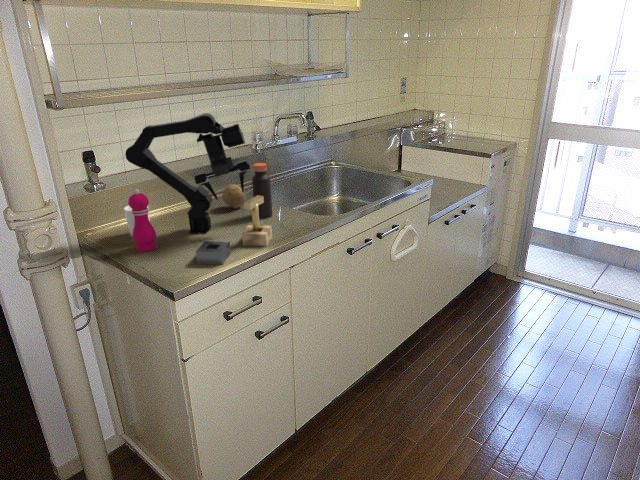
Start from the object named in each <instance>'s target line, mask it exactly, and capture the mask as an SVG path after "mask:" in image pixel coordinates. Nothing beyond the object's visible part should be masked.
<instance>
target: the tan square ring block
mask: <svg viewBox="0 0 640 480" xmlns="http://www.w3.org/2000/svg"><path fill="white" fill-rule="evenodd" d="M272 238H273V231H272V225H261V224H260V232H253V225H252V224H248V225H247V226H246V228H245V229H244V231H243V232H242V233H241V239H242V246H260V247H261V246H264V247H267V246H268V244H269V242H270V241H271V239H272Z"/></svg>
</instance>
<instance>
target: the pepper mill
mask: <svg viewBox="0 0 640 480" xmlns="http://www.w3.org/2000/svg"><path fill="white" fill-rule="evenodd" d="M149 203H150V201H149V198H148V196H146V195H145V194H143V193H141V191H140V189H137V188H136V189H134V190H133V194H131V195H130V196H129V198H128V202H127V205H128V206H130V207H131V208H132V210H131V211H132V215H134V218H135V225H134V229H133V234H132V236H133V237H132V236H131V237H132V240H133V241H134V242H135V243H136V244H135V249H136V251H137V252H140V253H146V252H151V251H154V250H155V249H157V242H156V241H155V240H156V237H157V232H156V230H155V227H154V226H153V224H152V223H151V220H150V221H149V219H148V212H149V213H150V211H148V209H149ZM147 206H148V208H147Z"/></svg>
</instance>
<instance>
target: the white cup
mask: <svg viewBox="0 0 640 480" xmlns="http://www.w3.org/2000/svg"><path fill="white" fill-rule="evenodd" d="M147 208H148V211H149V205H148V206H147ZM131 210H132V208H131V207H130V206H129V205H126V206H125V207H123V211H124V215H125V218H126V219H125V220H126V223H127V227H128V230H129V233H130V236H131V237H132V238H133V236H132V234H133V229H134V225H135V218H134V215H132V211H131ZM148 219H149V221H150V222H151V217H150V211H149V212H148Z"/></svg>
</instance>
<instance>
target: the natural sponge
mask: <svg viewBox="0 0 640 480" xmlns="http://www.w3.org/2000/svg"><path fill="white" fill-rule="evenodd" d="M221 197H222V201H223V202H224V203H225V204H226V205H228V206H229V207H230V208H232V209H239V208H240V206H242V205H244V202H246V201H247V198H246V193H245V191H244V192H242V189H241V186H239V185H238V184H234V183H233V184H228V185H227V186H226V187H225V188H224V190H223V193H222V196H221Z"/></svg>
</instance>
